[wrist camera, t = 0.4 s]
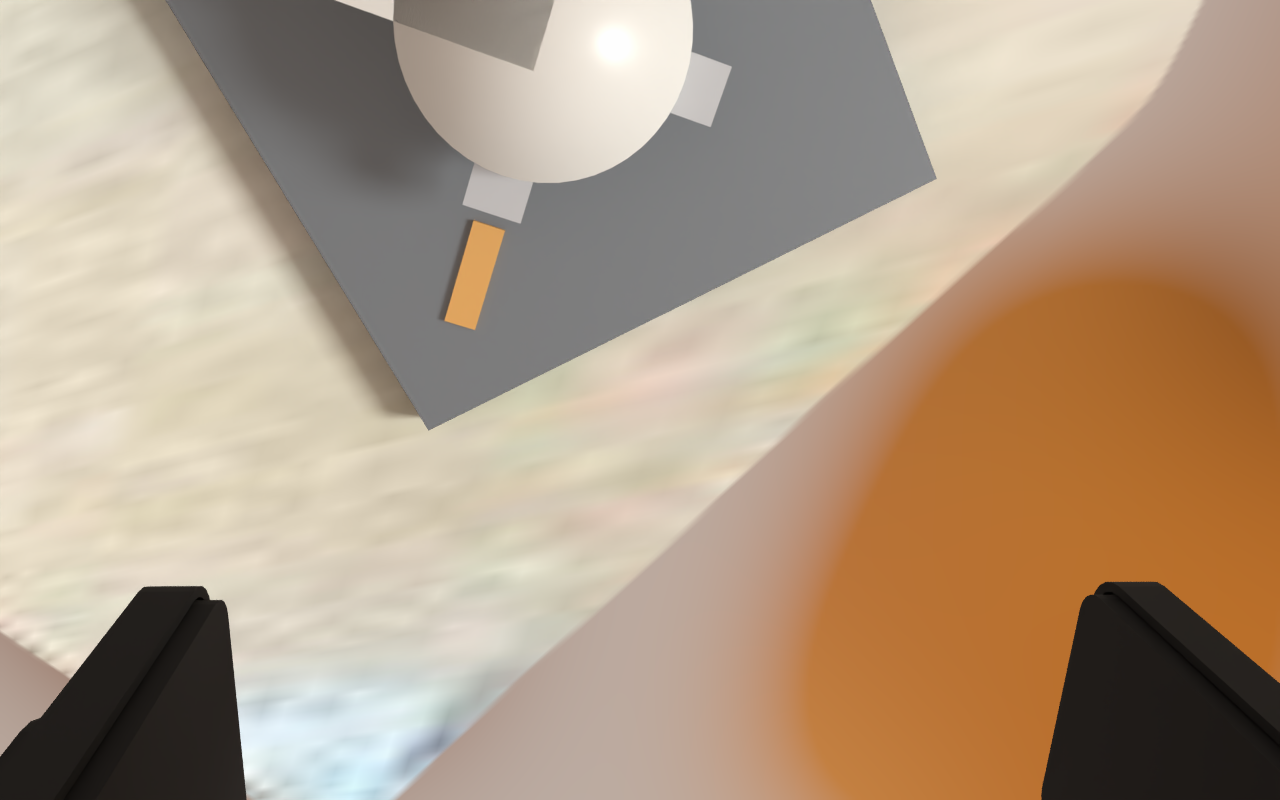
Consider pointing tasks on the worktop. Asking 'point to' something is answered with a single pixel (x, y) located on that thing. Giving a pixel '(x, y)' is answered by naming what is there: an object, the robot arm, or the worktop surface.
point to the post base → (557, 212)
